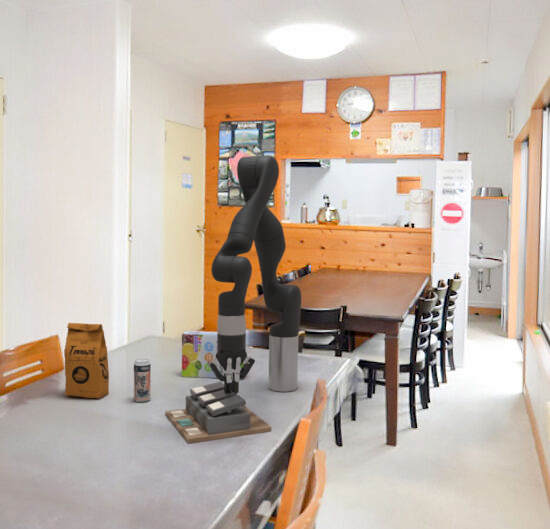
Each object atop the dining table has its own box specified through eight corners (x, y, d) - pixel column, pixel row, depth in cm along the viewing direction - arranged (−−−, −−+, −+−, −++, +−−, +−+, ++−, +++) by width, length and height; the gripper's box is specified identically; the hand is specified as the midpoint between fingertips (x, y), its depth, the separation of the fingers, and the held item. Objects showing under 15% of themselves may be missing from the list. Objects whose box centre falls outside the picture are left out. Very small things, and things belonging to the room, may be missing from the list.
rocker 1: (190, 396, 167) (189, 388, 167) (221, 388, 171) (220, 380, 170) (196, 401, 162) (195, 394, 162) (227, 393, 166) (226, 385, 166)
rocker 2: (198, 404, 161) (197, 396, 160) (229, 395, 164) (228, 387, 164) (204, 409, 156) (203, 401, 156) (236, 400, 160) (235, 392, 159)
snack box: (245, 375, 207) (246, 332, 206) (243, 380, 201) (243, 335, 200) (185, 372, 209) (185, 329, 208) (181, 377, 204) (181, 333, 202)
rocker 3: (207, 413, 154) (205, 405, 154) (239, 401, 158) (237, 394, 158) (213, 419, 150) (211, 411, 149) (246, 407, 153) (245, 399, 153)
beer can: (134, 403, 175) (134, 362, 174) (133, 398, 180) (133, 358, 179) (151, 402, 177) (151, 362, 176) (150, 397, 181) (149, 358, 180)
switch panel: (165, 415, 166) (165, 397, 165) (239, 405, 175) (240, 388, 175) (188, 443, 146) (188, 423, 146) (271, 431, 155) (271, 412, 155)
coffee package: (98, 401, 176) (98, 327, 174) (60, 398, 179) (58, 325, 177) (114, 391, 186) (113, 321, 184) (77, 389, 188) (76, 319, 186)
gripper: (249, 326, 166) (249, 388, 168) (202, 330, 161) (202, 394, 162) (260, 332, 159) (260, 396, 161) (211, 336, 154) (211, 402, 155)
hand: (231, 395), depth 162 cm, fingers closed
